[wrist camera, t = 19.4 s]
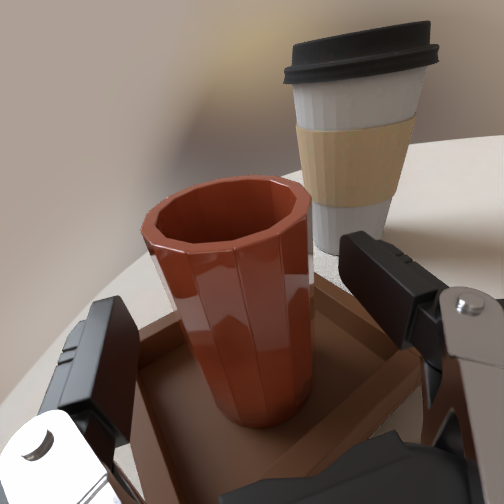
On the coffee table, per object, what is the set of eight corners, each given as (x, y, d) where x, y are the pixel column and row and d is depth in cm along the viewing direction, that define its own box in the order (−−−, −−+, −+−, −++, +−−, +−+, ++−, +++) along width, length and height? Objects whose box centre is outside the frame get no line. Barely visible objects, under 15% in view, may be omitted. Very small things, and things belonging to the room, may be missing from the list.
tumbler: (246, 459, 12) (181, 282, 6) (191, 364, 16) (123, 209, 11) (339, 379, 14) (350, 198, 9) (269, 314, 19) (247, 166, 13)
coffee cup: (359, 207, 30) (373, 33, 22) (430, 250, 23) (493, 8, 14) (278, 230, 29) (260, 51, 20) (325, 284, 21) (328, 34, 13)
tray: (196, 616, 9) (173, 607, 8) (121, 373, 17) (104, 347, 16) (425, 378, 14) (436, 347, 13) (286, 278, 22) (283, 252, 21)
